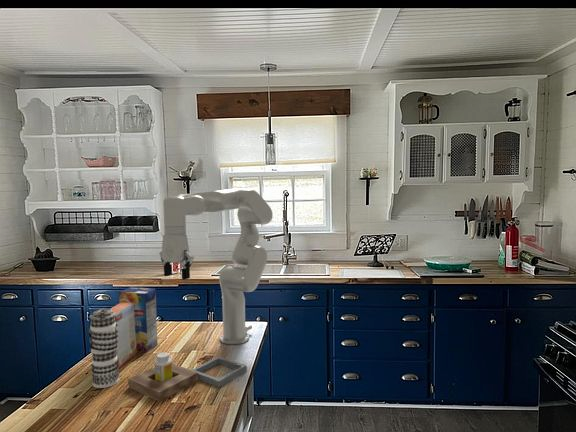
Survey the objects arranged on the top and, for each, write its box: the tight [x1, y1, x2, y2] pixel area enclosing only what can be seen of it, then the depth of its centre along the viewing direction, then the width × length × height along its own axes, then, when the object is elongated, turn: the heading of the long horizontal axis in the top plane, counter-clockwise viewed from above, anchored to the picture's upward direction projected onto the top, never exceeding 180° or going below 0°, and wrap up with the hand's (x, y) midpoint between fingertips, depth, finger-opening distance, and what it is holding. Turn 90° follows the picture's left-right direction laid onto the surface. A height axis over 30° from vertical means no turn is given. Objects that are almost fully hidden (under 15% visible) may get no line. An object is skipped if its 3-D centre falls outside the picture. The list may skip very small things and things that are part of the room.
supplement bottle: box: [153, 352, 173, 383], centre depth 141 cm, size 6×6×10 cm
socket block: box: [127, 362, 199, 403], centre depth 141 cm, size 16×16×3 cm
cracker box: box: [110, 302, 138, 369], centre depth 160 cm, size 14×6×21 cm, turn 173°
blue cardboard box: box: [118, 287, 158, 353], centre depth 172 cm, size 12×8×24 cm, turn 77°
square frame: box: [191, 356, 248, 388], centre depth 149 cm, size 14×14×2 cm
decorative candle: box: [87, 308, 120, 389], centre depth 143 cm, size 9×9×25 cm
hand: (176, 277), depth 153 cm, fingers open, 9 cm apart
